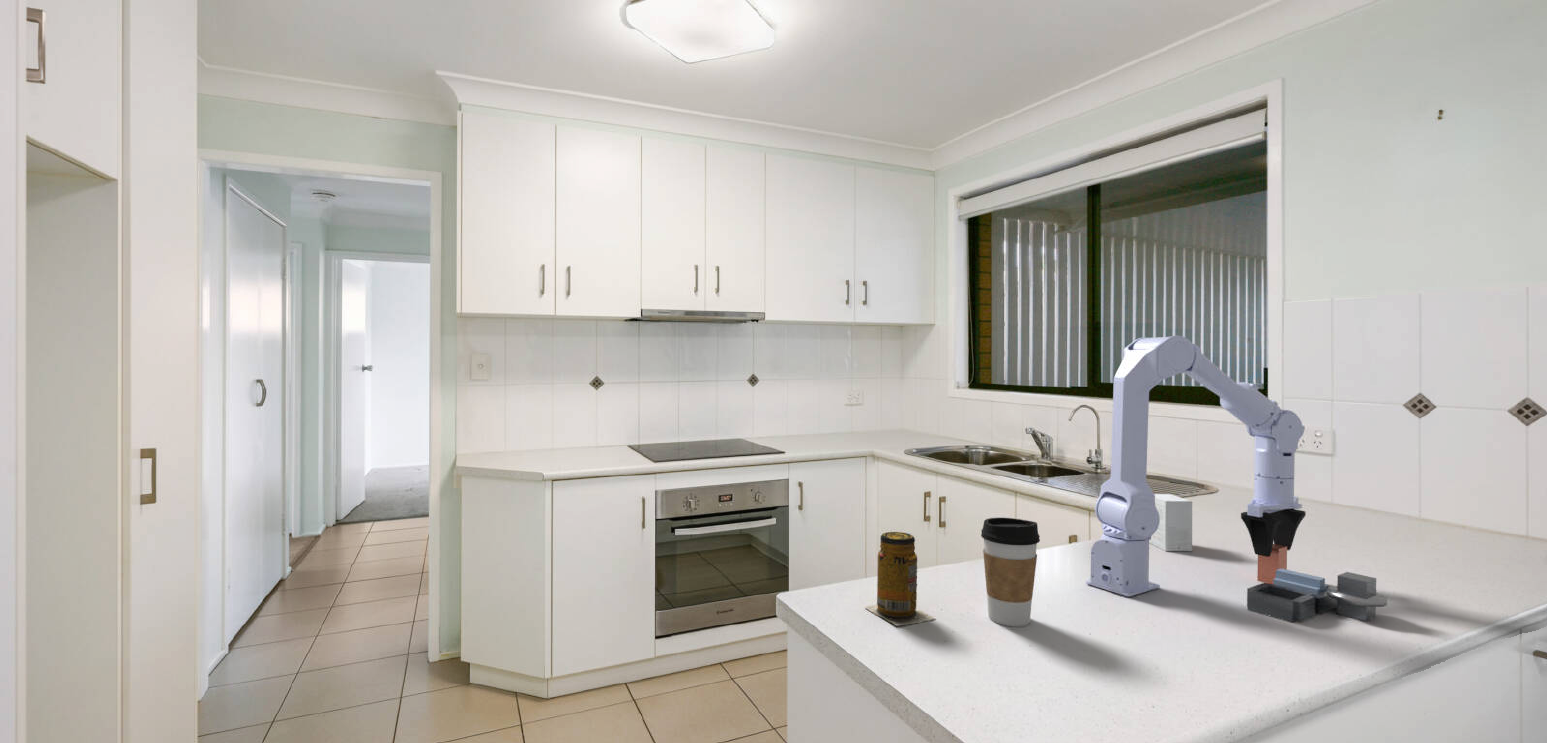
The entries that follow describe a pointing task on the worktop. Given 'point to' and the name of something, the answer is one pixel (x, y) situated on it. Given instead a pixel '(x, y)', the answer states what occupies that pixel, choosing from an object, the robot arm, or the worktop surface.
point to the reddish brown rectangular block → (1272, 564)
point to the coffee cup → (1010, 568)
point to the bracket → (1299, 581)
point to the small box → (1173, 523)
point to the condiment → (897, 580)
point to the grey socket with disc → (1318, 599)
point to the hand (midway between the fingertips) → (1272, 552)
